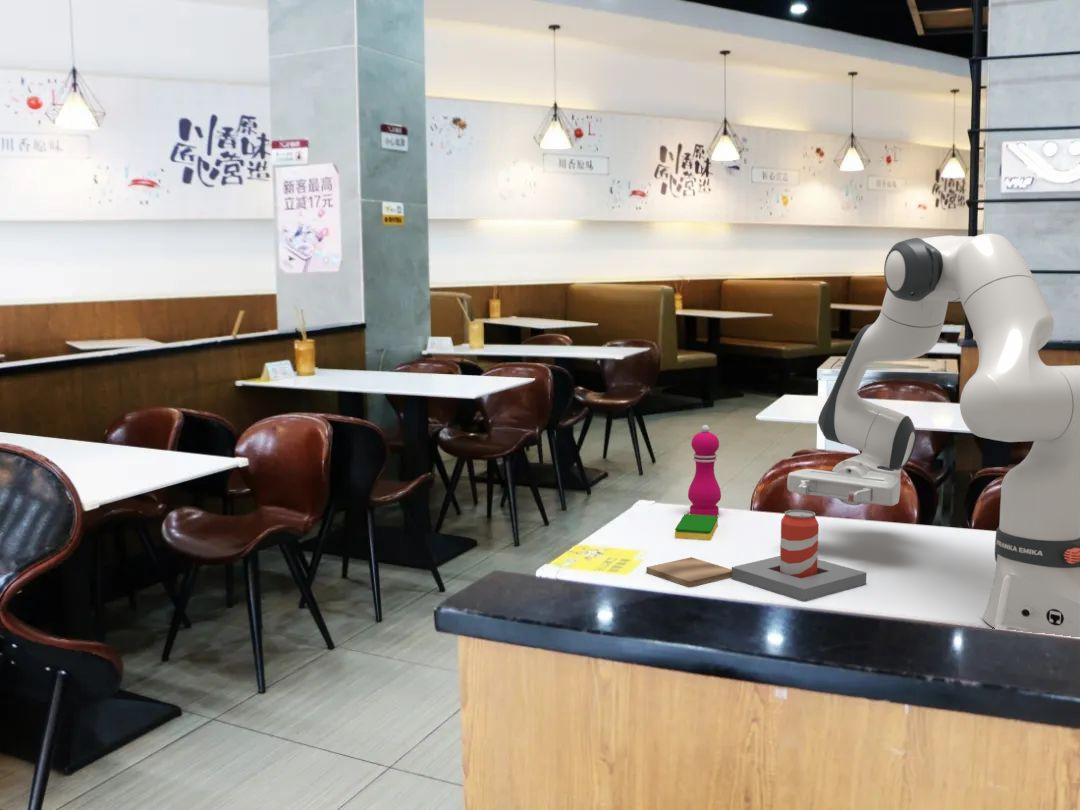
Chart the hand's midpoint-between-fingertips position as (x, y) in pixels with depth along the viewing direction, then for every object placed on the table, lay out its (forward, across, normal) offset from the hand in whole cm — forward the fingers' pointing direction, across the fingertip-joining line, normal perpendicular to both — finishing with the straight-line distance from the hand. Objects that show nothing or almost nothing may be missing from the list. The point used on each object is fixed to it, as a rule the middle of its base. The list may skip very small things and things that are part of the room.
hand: (826, 494), depth 187 cm
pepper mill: (-23, -37, +14) cm, 45 cm away
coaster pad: (+20, -16, +13) cm, 29 cm away
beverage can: (+13, 0, +13) cm, 18 cm away
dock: (+13, 0, +13) cm, 18 cm away
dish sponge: (-8, -31, +14) cm, 35 cm away
